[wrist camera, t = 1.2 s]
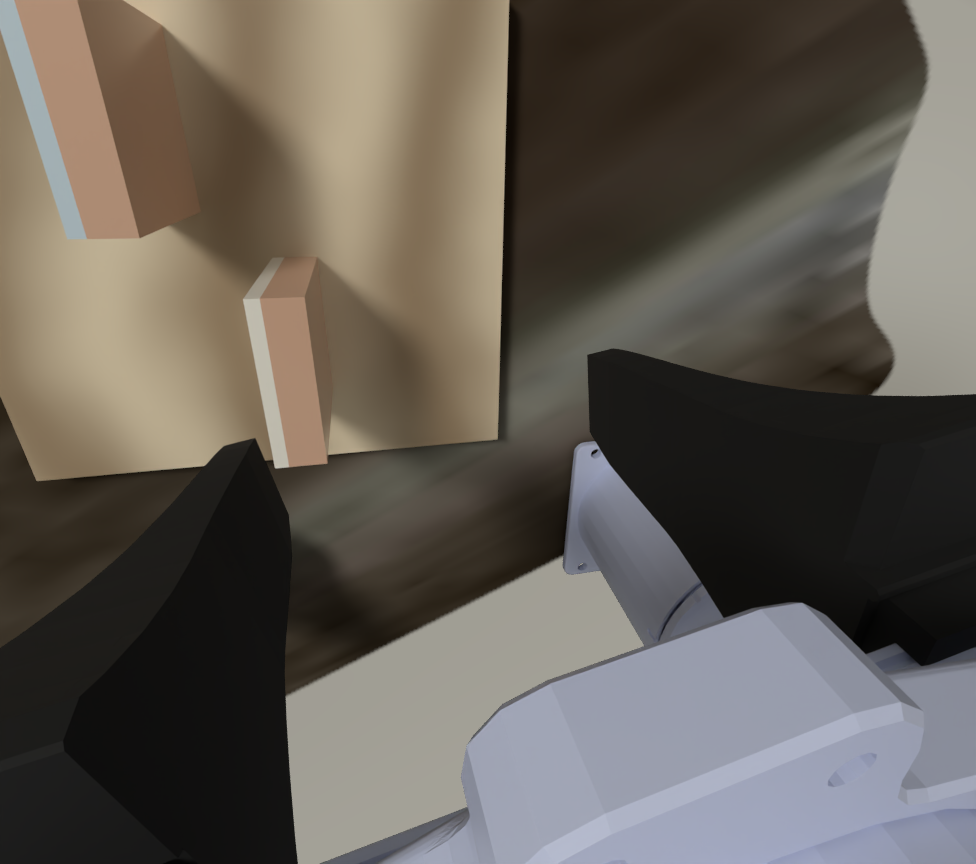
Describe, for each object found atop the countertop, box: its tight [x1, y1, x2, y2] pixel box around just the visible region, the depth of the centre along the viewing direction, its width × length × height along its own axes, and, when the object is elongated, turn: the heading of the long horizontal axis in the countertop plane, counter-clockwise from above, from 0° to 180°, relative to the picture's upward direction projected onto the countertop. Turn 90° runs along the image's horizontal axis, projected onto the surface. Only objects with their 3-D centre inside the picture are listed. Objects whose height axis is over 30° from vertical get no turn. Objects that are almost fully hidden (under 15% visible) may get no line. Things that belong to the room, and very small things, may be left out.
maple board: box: [0, 0, 509, 481], centre depth 19 cm, size 18×16×1 cm
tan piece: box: [0, 0, 201, 239], centre depth 14 cm, size 2×5×6 cm, turn 178°
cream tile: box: [243, 257, 333, 468], centre depth 18 cm, size 2×5×6 cm, turn 179°
